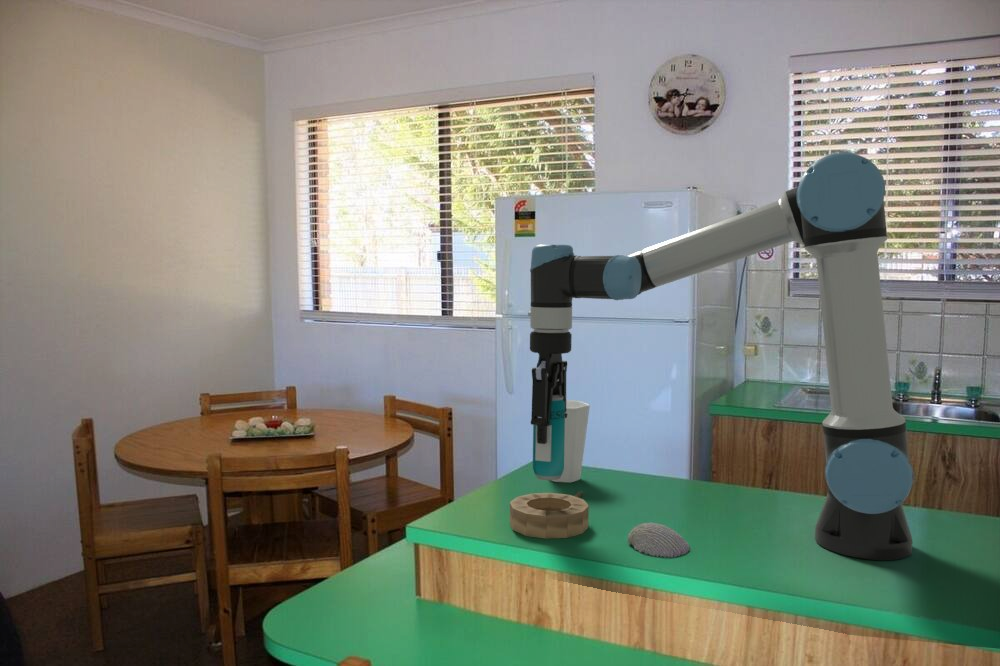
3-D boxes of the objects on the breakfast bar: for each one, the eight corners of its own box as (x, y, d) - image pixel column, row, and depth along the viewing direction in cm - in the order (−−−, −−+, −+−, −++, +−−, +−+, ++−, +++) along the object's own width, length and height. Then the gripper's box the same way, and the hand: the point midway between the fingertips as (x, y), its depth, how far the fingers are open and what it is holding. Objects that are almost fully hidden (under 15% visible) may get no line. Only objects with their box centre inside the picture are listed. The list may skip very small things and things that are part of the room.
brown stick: (582, 494, 161) (582, 492, 161) (562, 514, 148) (562, 511, 148) (578, 494, 162) (578, 491, 162) (558, 513, 149) (558, 510, 149)
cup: (590, 474, 178) (591, 401, 177) (586, 486, 168) (587, 408, 167) (542, 471, 180) (542, 399, 179) (536, 483, 170) (536, 406, 169)
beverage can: (570, 478, 141) (571, 396, 139) (545, 482, 137) (546, 399, 136) (550, 471, 145) (552, 392, 144) (526, 475, 142) (527, 395, 141)
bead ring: (595, 518, 146) (595, 498, 145) (574, 542, 133) (574, 519, 133) (526, 509, 151) (526, 489, 151) (499, 532, 138) (499, 510, 138)
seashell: (625, 518, 137) (681, 509, 135) (631, 548, 137) (687, 540, 136) (624, 536, 127) (685, 527, 125) (631, 568, 127) (692, 559, 125)
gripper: (547, 326, 149) (545, 444, 151) (512, 333, 132) (511, 466, 134) (584, 327, 146) (582, 447, 148) (554, 335, 129) (552, 471, 131)
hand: (548, 456), depth 141 cm, fingers closed on beverage can, 6 cm apart
